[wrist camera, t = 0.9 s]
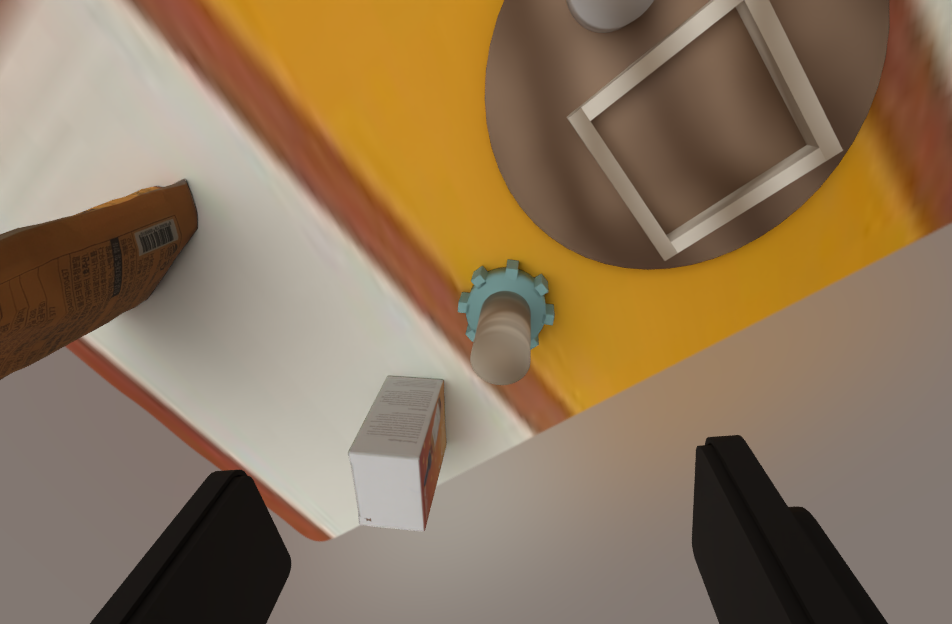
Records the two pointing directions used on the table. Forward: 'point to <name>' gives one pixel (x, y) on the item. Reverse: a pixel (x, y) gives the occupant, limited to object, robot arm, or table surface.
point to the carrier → (676, 116)
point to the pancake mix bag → (86, 269)
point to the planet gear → (504, 321)
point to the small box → (400, 454)
